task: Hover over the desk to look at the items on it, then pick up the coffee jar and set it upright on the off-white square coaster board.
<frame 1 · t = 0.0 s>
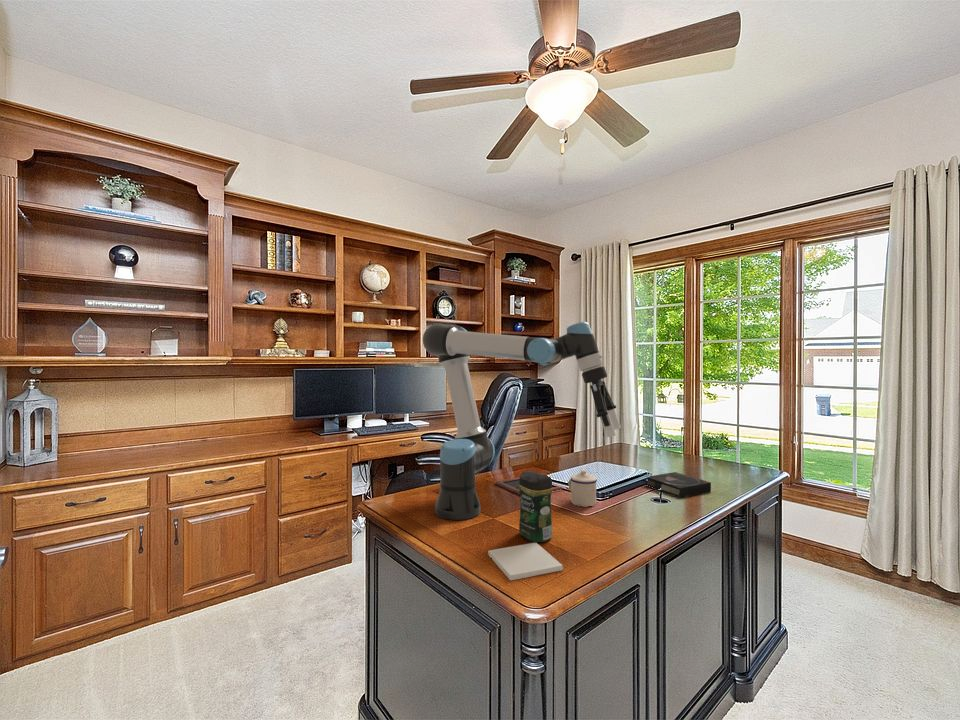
hand: (614, 432, 140), 28 cm above the table, tool tilted 20°, fingers open, 13 cm apart
teacup with lid: (580, 502, 158), on the table
coaster board: (524, 562, 112), on the table
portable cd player: (677, 490, 173), on the table
coffee jar: (535, 537, 128), on the table
picture frame: (535, 487, 177), on the table
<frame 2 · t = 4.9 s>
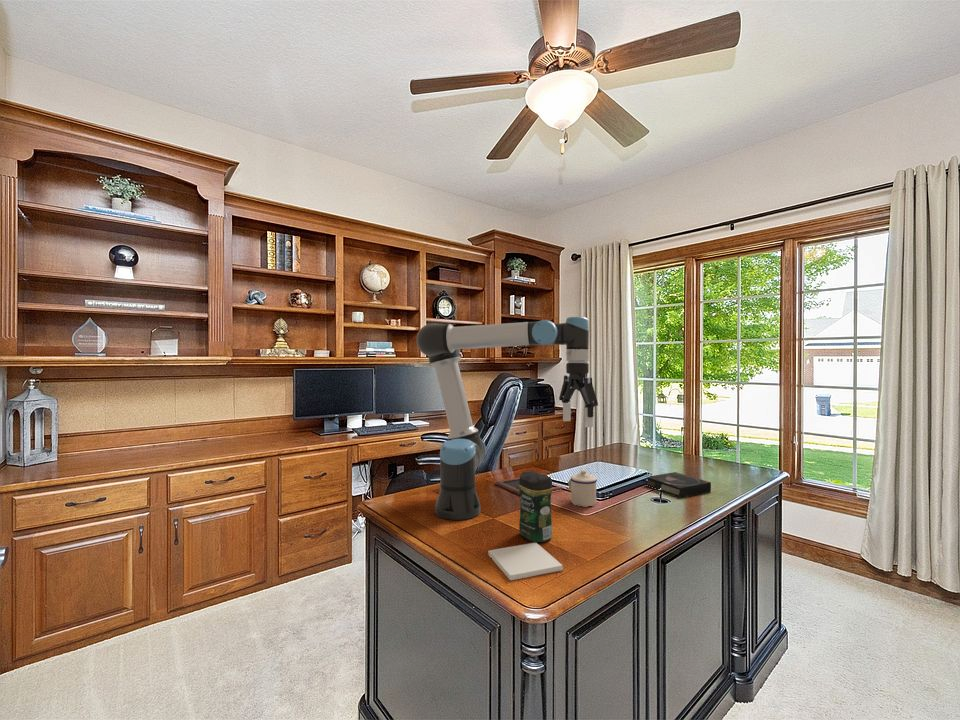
hand: (577, 424, 152), 29 cm above the table, tool pointing down, fingers open, 13 cm apart
nothing on the table moved.
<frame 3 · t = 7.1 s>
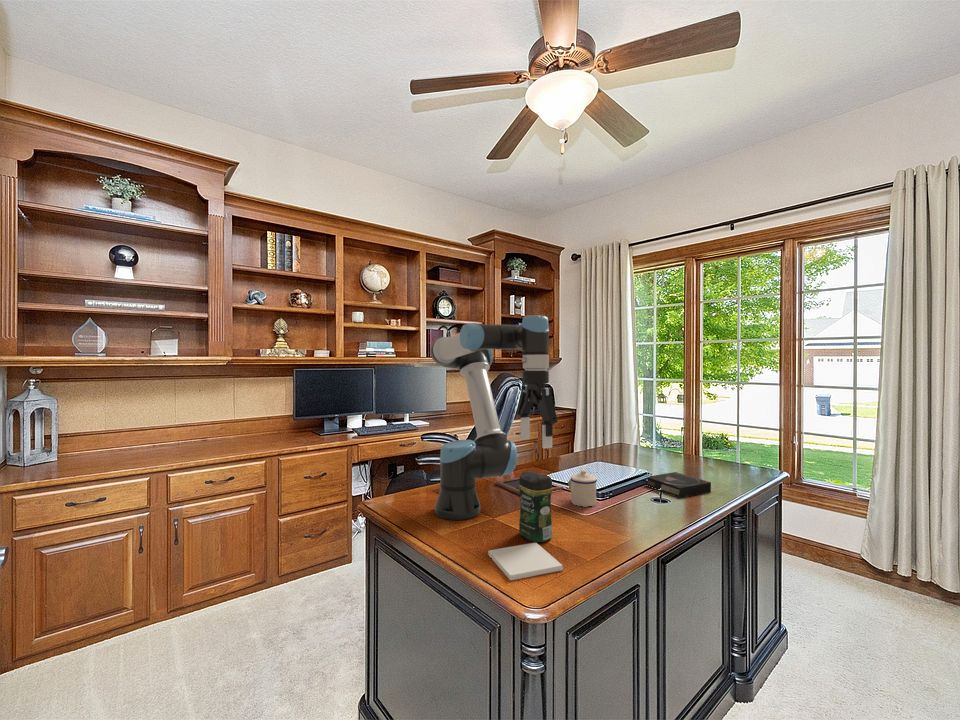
hand: (535, 443, 128), 27 cm above the table, tool pointing down, fingers open, 13 cm apart
nothing on the table moved.
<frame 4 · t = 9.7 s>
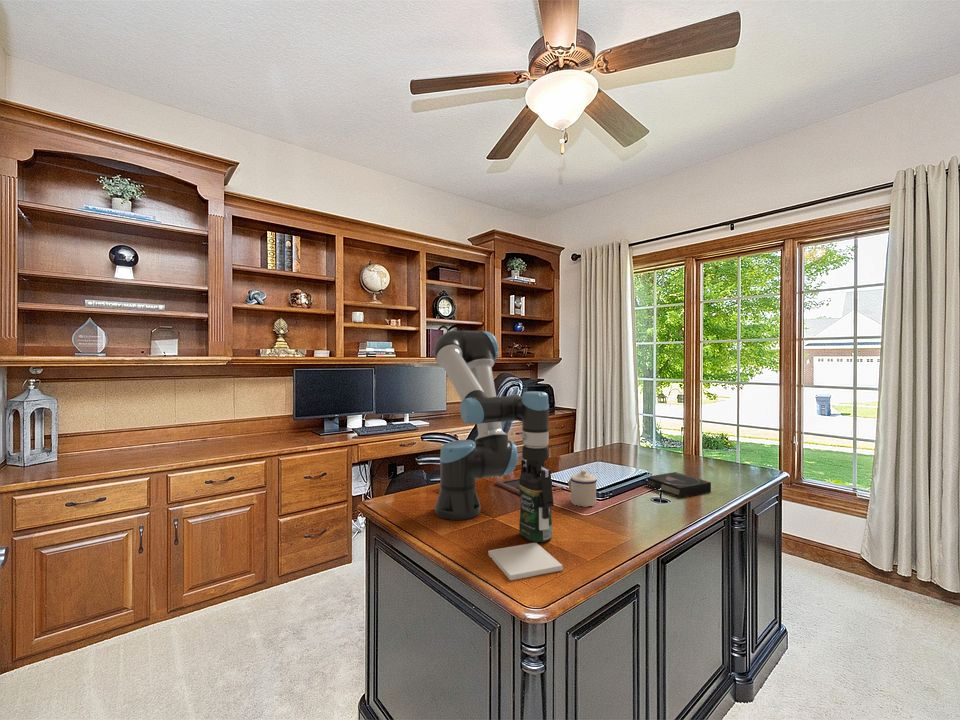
hand: (535, 522, 128), 4 cm above the table, tool pointing down, fingers closed on coffee jar, 9 cm apart
coffee jar: (535, 537, 128), on the table, touching gripper
everything else where it was.
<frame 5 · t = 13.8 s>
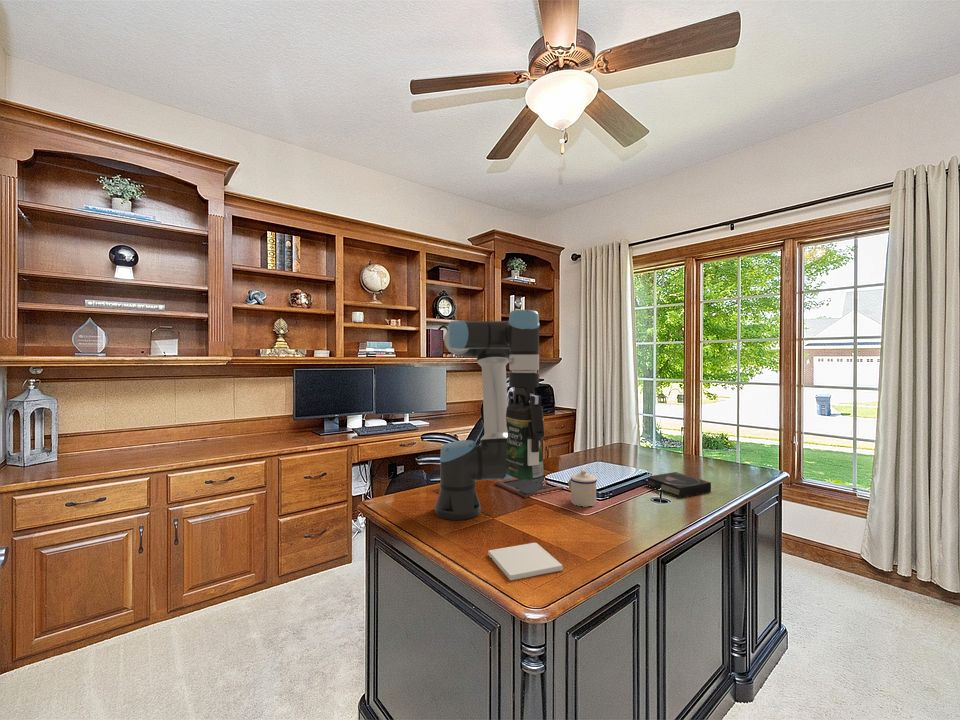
hand: (524, 460, 112), 26 cm above the table, tool pointing down, fingers closed on coffee jar, 9 cm apart
coffee jar: (524, 477, 112), point 22 cm above the table, touching gripper
everything else where it was.
when the fingers open (7 cm above the table, at t = 18.1 s): coffee jar drops 1 cm, resting on coaster board.
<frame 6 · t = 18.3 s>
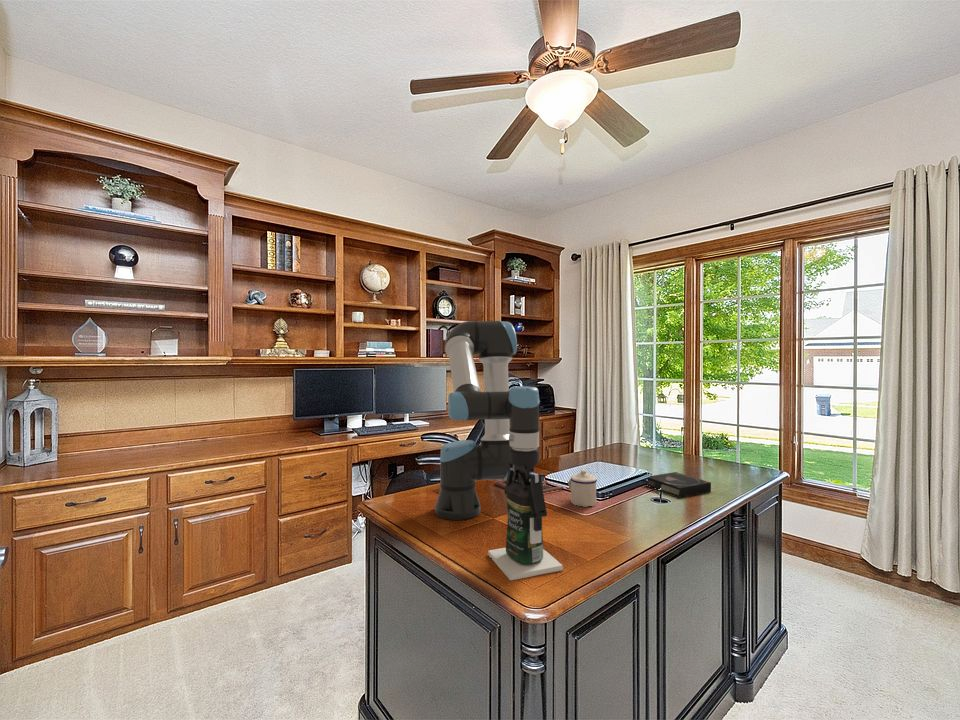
hand: (524, 532, 112), 8 cm above the table, tool pointing down, fingers open, 12 cm apart
coffee jar: (524, 557, 113), point 1 cm above the table, touching coaster board
everything else where it was.
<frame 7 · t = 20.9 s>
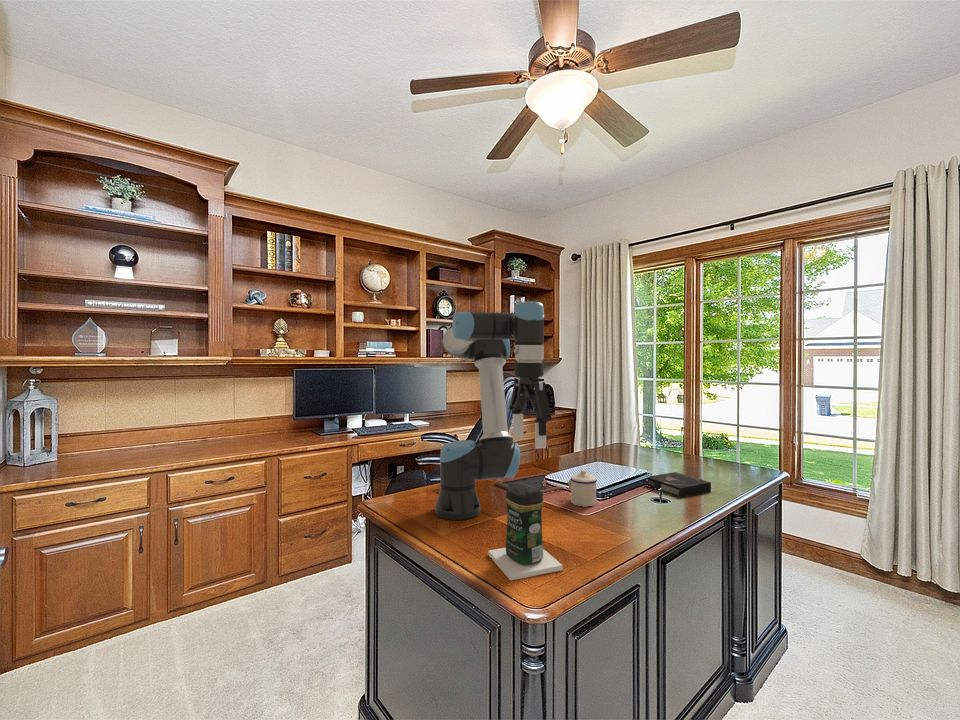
hand: (528, 442, 116), 30 cm above the table, tool pointing down, fingers open, 13 cm apart
nothing on the table moved.
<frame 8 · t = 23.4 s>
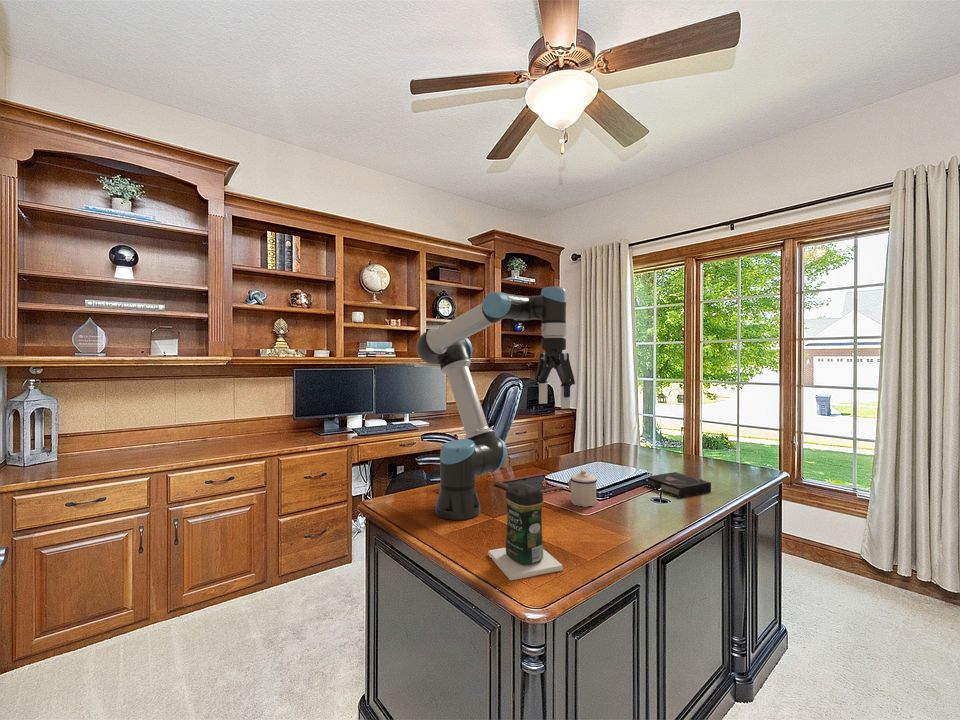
hand: (553, 405, 138), 37 cm above the table, tool pointing down, fingers open, 13 cm apart
nothing on the table moved.
at the end: coffee jar 0.1 cm from the coaster board (horizontally); coffee jar point 1.0 cm above the table; coffee jar tilted 0° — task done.
